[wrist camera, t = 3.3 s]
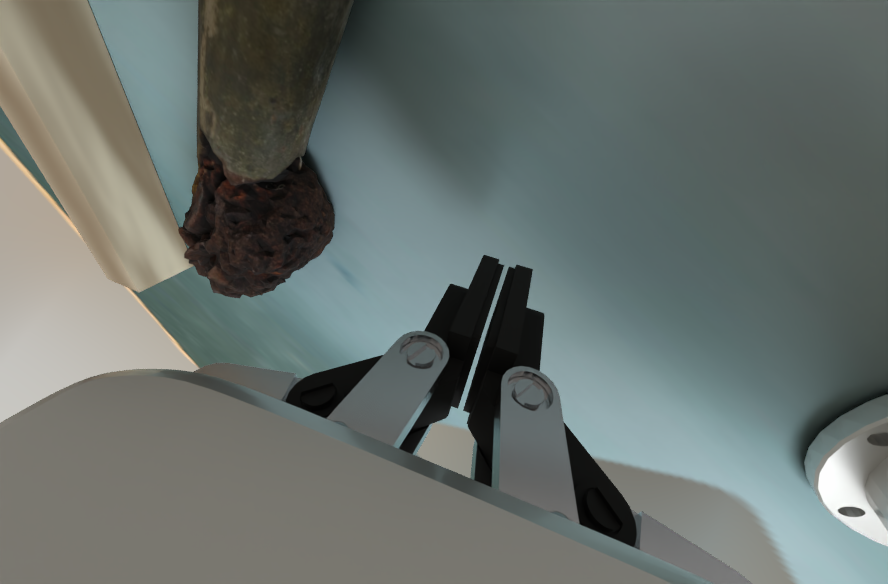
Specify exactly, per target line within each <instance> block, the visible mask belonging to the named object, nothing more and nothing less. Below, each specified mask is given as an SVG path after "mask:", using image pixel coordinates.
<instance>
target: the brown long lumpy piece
mask: <svg viewBox="0 0 888 584" xmlns="http://www.w3.org/2000/svg"><path fill="white" fill-rule="evenodd" d="M353 2H354V0H198V98H197V158H198V167H199V168H198V174H197V175H196V177H195V181H194V183H193V186H192V194H193V197H192V205H191V207H190V209H189V211H188V212H187V213H185V221H184V224H183V227H180V228H179V229H178V231H179V234H180V236H181V237H182V239H183V240H184V242H185V243H186V244H187V245H188V246H189V248H188V249H187V251H186V252H185V253H184V258H185V259H188V260H189V264H193V265H194V266H195V267H196V270H197V272H198V274H199V275H202V276H205V277H207V278H208V279H209V280H210V284H211V288H212V290H213V293H219V294H223V295H225V296H228V297H234V298H240V297H241V295H243V294H244V295H246V296H249V297H253V296H257V295H262V294H263V293H266V292H269V291H273V290H274V289H275V288H276V286H277V285H279V284H281V283H284V282H286V281H285V279H288V278H290V276H291V274H292V272H294V271H296V270H299V269H301V268H303V267H304V266H305V265H306V264H307V263H308V261H310V260H312V259H314V258H316V257H318V256H319V255H320V254H321V253H322V251H323V250H324V248H325V246H326V245H327V244H329V243H330V241H331V239H332V237H333V232H332V231H333V229H334V219H335V214H334V211H333V207H332V204H331V203H330V202H328V200H327V196H326V194H325V192H324V190H323V188H322V186H321V185H320V184H319V183H318V178H317V175H316V173H315V172H314V171H313V170H312V169H310V168H309V167H307V166H306V165H305V164H304V163H303V162H302V159H301V158H302V156H304V155H305V151H306V148H307V144H308V141H309V137H310V134H311V130H312V127H313V123H314V121H315V118H316V115H317V112H318V109H319V106H320V103H321V100H322V97H323V94H324V91H325V88H326V85H327V82H328V79H329V76H330V72H331V69H332V66H333V63H334V60H335V57H336V54H337V51H338V48H339V45H340V42H341V39H342V36H343V33H344V30H345V26H346V23H347V20H348V17H349V14H350V11H351V8H352V5H353Z"/></svg>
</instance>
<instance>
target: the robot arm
mask: <svg viewBox="0 0 888 584" xmlns="http://www.w3.org/2000/svg"><path fill="white" fill-rule="evenodd" d="M498 262H499V259H496V258H493V257H490V256H486V255H484V256H483V258H482V260H481V262H480V264H479V267H478V269H477V271H476V273H475V275H474V278H473V280H472V282H471V284H470V286H469V289H466V288H463V287H460V286H457V285H453V284H450V285H449V287H448V289H447V290H446V292H445V294H444V296H443V298H442V300H441V301H440V303H439V305H438V307H437V309H436V311H435V312H434V314H433V316H432V318H431V320H430V321H429V323H428V325H427V327H426V329H425V331H413V332H409V333H407V334H404V335H403V336H401V337H400V338H399V339H398V340H397V341H396V342H395V343H394V344H393V345H392V346H391V348H390V349H389V350H388V351H387V352H386V353H385V354H384V355H381V356H378V357H374V358H370V359H367V360H363V361H359V362H356V363H352V364H348V365H345V366H341V367H337V368H334V369H330V370H326V371H322V372H319V373H315V374H312V375H310V376H307V377H305V378H297V376H296V373H290V372H283V371H277V370H270V369H263V368H257V367H250V366H244V365H237V364H231V363H214V364H210V365H207V366H204V367H202V368H200V369H198V370H196V371H194V372H187V371H181V370H168V369H136V370H124V371H117V372H110V373H105V374H101V375H97V376H93V377H90V378H87V379H84V380H82V381H79V382H77V383H74V384H72V385H70V386H68V387H66V388H64V389H61V390H59V391H57V392H55V393H53V394H51V395H49V396H48V397H46V398H44V399H42V400H40V401H38V402H36V403H35V404H33V405H31V406H29V407H27V408H26V409H24V410H22V411H20V412H19V413H17V414H15V415H13V416H11V417H10V418H8V419H6V420H4V421H3V422H1V423H0V584H752V583H751V582H750V581H749V580H747V579H746V578H745V577H744V576H742V575H741V574H740V573H739V572H737V571H736V570H734V569H733V568H731V567H730V566H728V565H727V564H725V563H723V562H722V561H720V560H718V559H717V558H715V557H714V556H712V555H711V554H709V553H708V552H706V551H704V550H703V549H701V548H700V547H698V546H696V545H695V544H693V543H692V542H690V541H688V540H687V539H685V538H684V537H682V536H681V535H679V534H677V533H676V532H674V531H673V530H671V529H670V528H668V527H666V526H665V525H663V524H662V523H660V522H658V521H657V520H655V519H654V518H652V517H651V516H649V515H647V514H646V513H644V512H643V511H642V512H640V513H639V514H637V513H636V512H634V511H633V510H631V509H630V507H629V505H628V503H627V502H626V501H625V499H624V497H623V496H622V494H621V493H620V492H619V491H618V489H617V488H616V487H615V486H614V484H613V483H612V482H611V481H610V480H609V479H608V477H607V476H606V474H605V473H604V472H603V471H602V470H601V468H600V467H599V466H598V464H597V463H596V462H595V461H594V459H593V458H592V457H591V456H590V454H589V453H588V452H587V451H586V449H585V448H584V447H583V446H582V444H581V443H580V442H579V441H578V439H577V438H576V437H575V436H574V434H573V433H572V432H571V431H570V429H569V428H568V427H567V426H566V424H565V423H564V421H563V415H562V408H561V402H560V396H559V393H558V390H557V388H556V386H555V385H554V383H553V382H552V381H551V380H550V379H549V378H548V377H547V376H546V375H545V374H543V373H541V372H540V360H541V348H542V337H543V326H544V313H542V312H538V311H535V310H532V309H529V308H526V306H527V300H528V294H529V288H530V282H531V277H532V271H533V269H530V268H526V267H523V266H520V265H516V267H515V268H511V267H509V268H508V271H507V274H506V277H505V280H504V283H503V286H502V289H501V292H500V295H499V298H498V301H497V304H496V307H495V310H494V313H493V316H492V319H491V322H490V325H489V328H488V331H487V334H486V337H485V341H484V344H483V347H482V351H481V354H480V357H479V360H478V364H477V367H476V370H475V374H474V377H473V380H472V383H471V387H470V390H469V393H468V397H467V400H466V403H465V406H464V410H463V411H466V412H468V413H470V414H469V417H468V421H467V424H468V428H469V429H470V431H471V433H472V435H473V437H474V438H475V442H474V446H473V457H472V468H471V479H470V478H468V477H465V476H463V475H461V474H458V473H456V472H453V471H451V470H449V469H446V468H443V467H441V466H439V465H437V464H434V463H431V462H429V461H427V460H424V459H422V458H420V457H417V456H415V455H416V454H417V452H418V450H419V448H420V447H421V445H422V443H423V441H424V440H425V438H426V436H427V434H428V433H429V431H430V429H431V426H432V424H433V423H435V422H437V421H440V420H442V419H445V418H446V417H447V416H448V414H449V411H450V408H451V406H453V407H455V408H458V406H459V403H460V400H461V397H462V394H463V391H464V388H465V385H466V382H467V379H468V375H469V372H470V369H471V366H472V363H473V360H474V357H475V354H476V351H477V348H478V345H479V342H480V338H481V335H482V332H483V329H484V326H485V323H486V320H487V317H488V314H489V311H490V307H491V304H492V301H493V298H494V295H495V292H496V289H497V286H498V283H499V280H500V276H501V273H502V270H503V267H504V265H501V264H498ZM804 464H805V471H806V477H807V479H808V480H809V482H810V484H811V486H812V488H813V490H814V491H815V493H816V495H817V497H818V499H819V501H820V502H821V503H822V504H823V506H824V507H825V508H826V510H827V511H828V512H829V513H830V514H831V515H833V516H834V517H835V518H837V519H838V520H839V521H841V522H842V523H843V524H845V525H846V526H847V527H849V528H851V529H852V530H854V531H856V532H858V533H860V534H862V535H864V536H866V537H868V538H869V539H871V540H873V541H875V542H878V543H880V544H883V545H885V546H888V394H886V395H883V396H881V397H878V398H875V399H873V400H870V401H868V402H866V403H864V404H862V405H860V406H858V407H856V408H855V409H853V410H851V411H849V412H847V413H845V414H843V415H841V416H840V417H839V418H837V419H836V420H835V421H834V422H832V423H831V424H830V425H829V426H827V427H826V428H825V429H823V430H822V431H821V432H820V433H819V434H818V436H817V437H816V438H815V440H814V441H813V442H812V444H811V445H810V446H809V448H808V451H807V455H806V458H805V462H804Z"/></svg>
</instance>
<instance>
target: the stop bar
mask: <svg viewBox="0 0 888 584" xmlns="http://www.w3.org/2000/svg"><path fill="white" fill-rule="evenodd" d="M0 106H1V108H2V109H3V111H4V112H5V114H6V116H7V117H8V119H9V120H10V122H11V124H12V125H13V127H14V129H15V130H16V132H17V133H18V135H19V137H20V138H21V140H22V141H23V143H24V145H25V146H26V148H27V149H28V151H29V153H30V154H31V156H32V158H33V159H34V161H35V162H36V164H37V166H38V167H39V169H40V170H41V172H42V174H43V175H44V177H45V178H46V180H47V182H48V183H49V185H50V186H51V188H52V190H53V191H54V193H55V195H56V196H57V198H58V199H59V201H60V203H61V204H62V206H63V207H64V209H65V211H66V212H67V214H68V215H69V217H70V219H71V220H72V222H73V224H74V225H75V227H76V228H77V230H78V232H79V233H80V235H81V236H82V238H83V240H84V241H85V243H86V244H87V246H88V248H89V249H90V251H91V253H92V254H93V256H94V257H95V259H96V261H97V262H98V264H99V265H100V267H101V268H102V270H103V272H104V273H105V275H106V277H107V278H108V279H109V280H112V281H114V282H116V283H119V284H121V285H123V286H126V287H128V288H130V289H133V290H135V291H137V292H141V291H143V290H145V289H147V288H149V287H151V286H153V285H155V284H157V283H159V282H162V281H164V280H166V279H168V278H170V277H172V276H174V275H176V274H178V273H180V272H182V271H184V270H186V269H188V268H190V267H192V266H194V265H193V264H189V260H188V259H185V258H184V253H185V252H186V251H187V247H186V245H185V242H184V240H183V239H182V237H181V236H180V234H179V231H178V229H179V227H178V225H177V222H176V220H175V217H174V215H173V212H172V210H171V207H170V205H169V202H168V200H167V197H166V195H165V192H164V190H163V187H162V185H161V182H160V180H159V177H158V175H157V172H156V170H155V167H154V165H153V163H152V160H151V158H150V155H149V153H148V150H147V148H146V145H145V143H144V140H143V138H142V135H141V133H140V130H139V128H138V125H137V123H136V120H135V118H134V115H133V113H132V110H131V108H130V105H129V103H128V100H127V98H126V95H125V93H124V90H123V88H122V85H121V83H120V80H119V78H118V75H117V73H116V70H115V68H114V65H113V63H112V60H111V58H110V55H109V53H108V50H107V48H106V45H105V43H104V40H103V38H102V35H101V33H100V30H99V28H98V25H97V23H96V20H95V18H94V15H93V13H92V10H91V8H90V5H89V3H88V0H0Z"/></svg>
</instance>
